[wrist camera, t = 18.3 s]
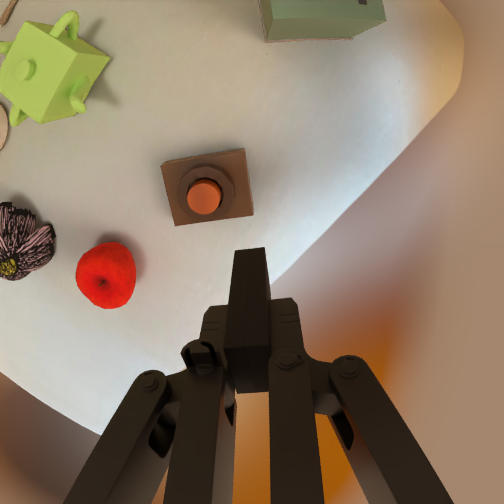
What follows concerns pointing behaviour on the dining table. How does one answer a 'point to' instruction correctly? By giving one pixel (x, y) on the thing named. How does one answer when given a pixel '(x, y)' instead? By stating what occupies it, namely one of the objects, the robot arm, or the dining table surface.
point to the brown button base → (217, 170)
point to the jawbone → (7, 12)
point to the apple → (107, 275)
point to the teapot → (49, 70)
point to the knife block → (318, 19)
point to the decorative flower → (22, 242)
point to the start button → (204, 196)
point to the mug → (3, 126)
